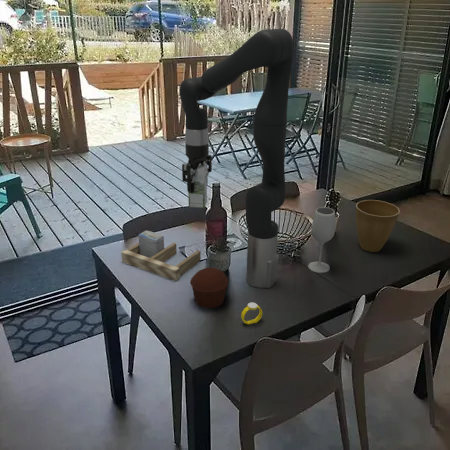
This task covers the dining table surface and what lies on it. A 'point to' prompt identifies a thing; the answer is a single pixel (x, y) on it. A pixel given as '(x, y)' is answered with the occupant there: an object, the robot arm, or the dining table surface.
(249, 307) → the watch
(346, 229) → the dining table surface
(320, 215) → the wineglass
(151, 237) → the medicine box
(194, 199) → the syrup box
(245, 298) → the dining table surface
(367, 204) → the plant pot
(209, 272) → the muffin
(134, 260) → the wooden tray
